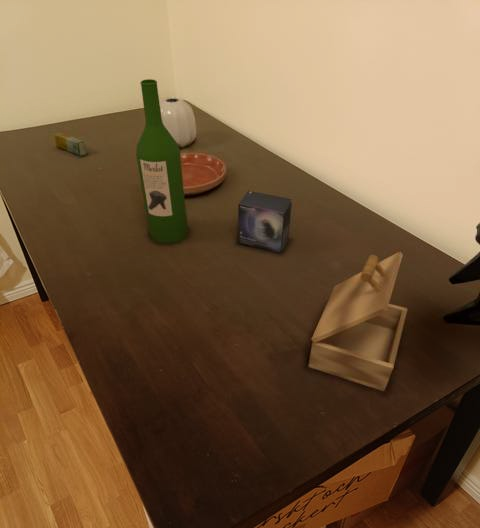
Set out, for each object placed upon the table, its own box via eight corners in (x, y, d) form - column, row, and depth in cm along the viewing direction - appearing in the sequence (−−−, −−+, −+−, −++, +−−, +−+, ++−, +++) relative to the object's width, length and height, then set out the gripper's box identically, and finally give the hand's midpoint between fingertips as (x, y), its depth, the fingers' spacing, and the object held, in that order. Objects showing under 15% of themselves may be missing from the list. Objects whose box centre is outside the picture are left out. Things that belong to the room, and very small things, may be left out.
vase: (162, 155, 134) (156, 109, 124) (151, 139, 143) (144, 95, 134) (203, 148, 138) (201, 103, 128) (190, 133, 147) (186, 90, 138)
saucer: (139, 169, 126) (137, 157, 124) (214, 159, 131) (213, 147, 129) (152, 206, 111) (150, 193, 108) (236, 193, 116) (236, 180, 113)
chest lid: (403, 254, 68) (385, 233, 66) (386, 312, 58) (365, 288, 57) (337, 289, 77) (321, 270, 76) (314, 343, 67) (295, 323, 66)
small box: (236, 244, 98) (236, 202, 91) (247, 230, 102) (247, 189, 95) (280, 254, 95) (284, 212, 88) (289, 239, 99) (293, 198, 92)
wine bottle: (146, 243, 98) (118, 88, 76) (153, 222, 105) (130, 74, 82) (185, 244, 98) (168, 88, 76) (190, 223, 105) (176, 74, 82)
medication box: (87, 154, 134) (85, 141, 132) (80, 156, 133) (78, 143, 130) (62, 144, 139) (60, 131, 137) (55, 146, 137) (53, 133, 135)
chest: (399, 331, 78) (407, 308, 74) (384, 391, 68) (393, 368, 64) (331, 312, 81) (335, 289, 77) (308, 367, 72) (312, 343, 68)
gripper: (533, 163, 54) (422, 226, 66) (541, 237, 42) (403, 299, 53) (577, 228, 57) (463, 278, 68) (597, 315, 45) (454, 359, 56)
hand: (447, 299), depth 61 cm, fingers open, 9 cm apart
